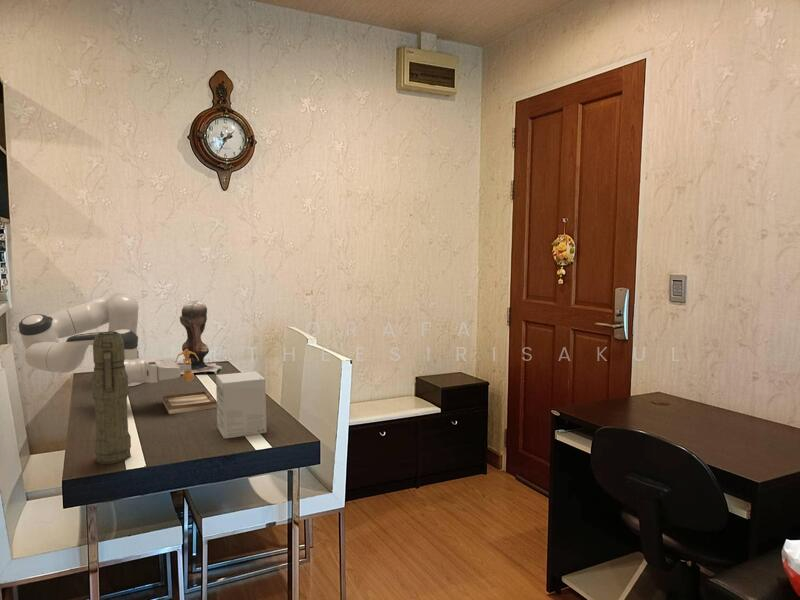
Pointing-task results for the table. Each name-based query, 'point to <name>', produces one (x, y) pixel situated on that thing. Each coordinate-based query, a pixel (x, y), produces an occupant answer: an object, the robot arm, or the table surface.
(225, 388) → the supplement box
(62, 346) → the robot arm
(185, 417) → the table surface
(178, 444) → the table surface
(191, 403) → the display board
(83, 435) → the table surface
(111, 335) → the olive green bag
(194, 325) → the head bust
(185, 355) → the figurine
